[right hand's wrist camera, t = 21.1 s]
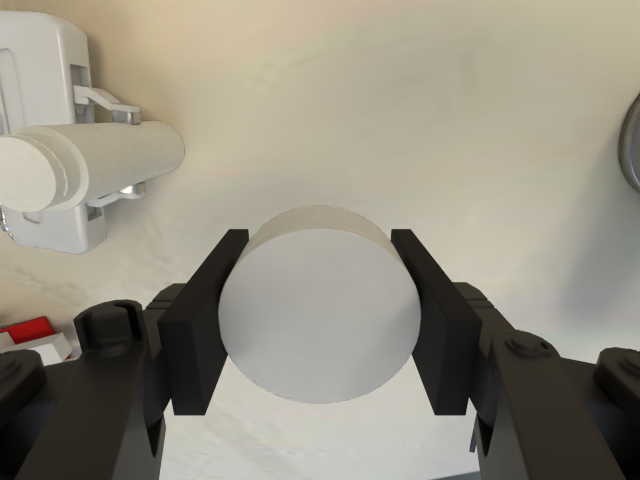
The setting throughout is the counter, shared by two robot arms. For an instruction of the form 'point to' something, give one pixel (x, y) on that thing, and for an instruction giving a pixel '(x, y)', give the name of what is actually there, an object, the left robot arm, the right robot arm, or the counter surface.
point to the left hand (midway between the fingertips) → (140, 153)
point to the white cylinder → (319, 307)
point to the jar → (82, 162)
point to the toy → (36, 341)
